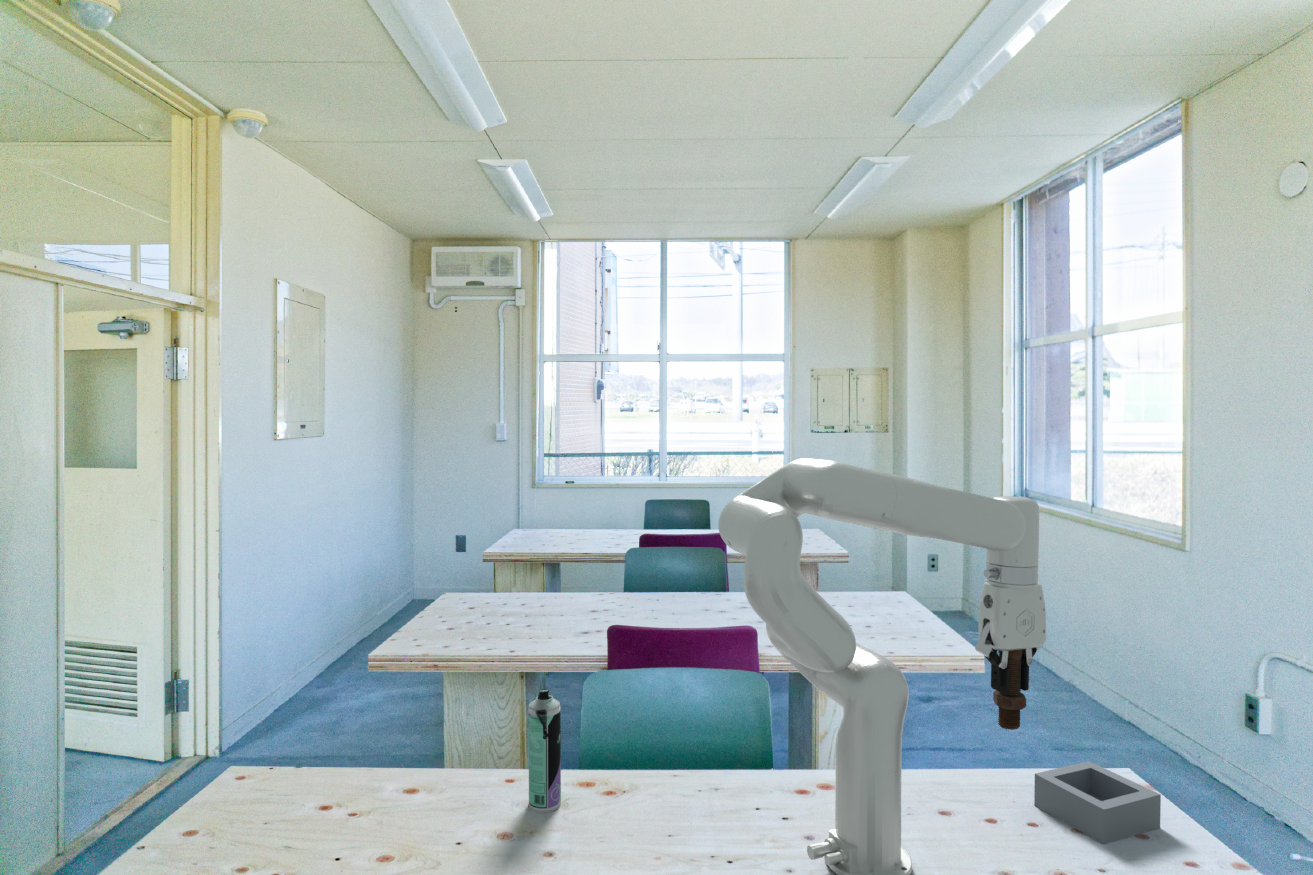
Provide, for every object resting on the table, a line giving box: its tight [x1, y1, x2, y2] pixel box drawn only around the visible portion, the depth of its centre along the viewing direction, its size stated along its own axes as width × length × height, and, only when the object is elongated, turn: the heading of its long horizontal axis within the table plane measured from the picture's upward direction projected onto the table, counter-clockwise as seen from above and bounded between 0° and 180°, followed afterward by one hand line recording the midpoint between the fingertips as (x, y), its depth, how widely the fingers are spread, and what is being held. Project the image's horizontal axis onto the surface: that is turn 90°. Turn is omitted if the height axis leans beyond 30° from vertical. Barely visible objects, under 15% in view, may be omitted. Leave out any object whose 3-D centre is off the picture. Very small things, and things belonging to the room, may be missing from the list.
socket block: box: [1033, 760, 1162, 845], centre depth 127 cm, size 13×13×6 cm
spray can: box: [528, 688, 562, 814], centre depth 131 cm, size 6×6×20 cm
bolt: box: [992, 649, 1027, 731], centre depth 121 cm, size 6×5×15 cm
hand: (1009, 688), depth 121 cm, fingers closed on bolt, 3 cm apart
